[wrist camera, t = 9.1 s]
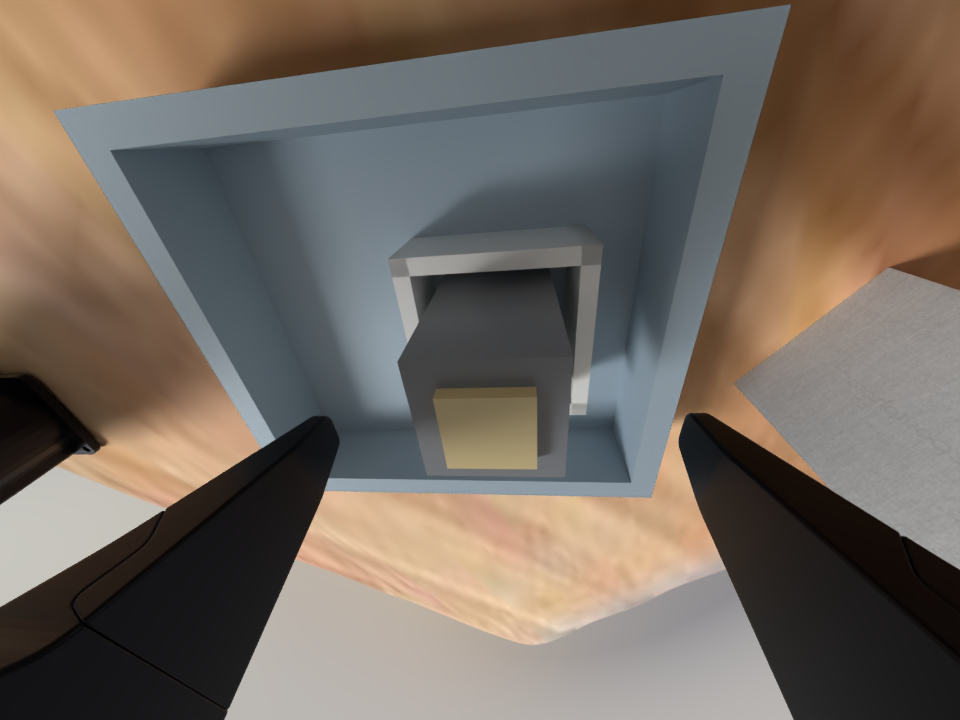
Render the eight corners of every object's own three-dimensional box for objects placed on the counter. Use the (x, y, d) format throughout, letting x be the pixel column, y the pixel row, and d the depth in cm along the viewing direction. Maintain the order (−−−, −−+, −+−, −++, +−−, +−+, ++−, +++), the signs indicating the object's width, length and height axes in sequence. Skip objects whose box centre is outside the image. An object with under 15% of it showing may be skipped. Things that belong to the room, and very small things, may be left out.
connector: (546, 350, 15) (567, 489, 9) (459, 352, 16) (424, 487, 10) (547, 262, 13) (575, 366, 7) (448, 269, 14) (391, 371, 8)
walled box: (626, 434, 19) (651, 497, 15) (323, 434, 21) (286, 490, 18) (700, 51, 10) (791, 4, 7) (178, 119, 12) (53, 111, 9)
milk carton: (733, 383, 16) (961, 632, 8) (888, 267, 13) (1565, 488, 5) (783, 416, 17) (1040, 675, 9) (941, 314, 14) (1607, 577, 5)
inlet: (574, 372, 16) (586, 414, 14) (438, 375, 17) (424, 416, 14) (585, 224, 13) (603, 244, 10) (411, 237, 13) (388, 259, 11)
